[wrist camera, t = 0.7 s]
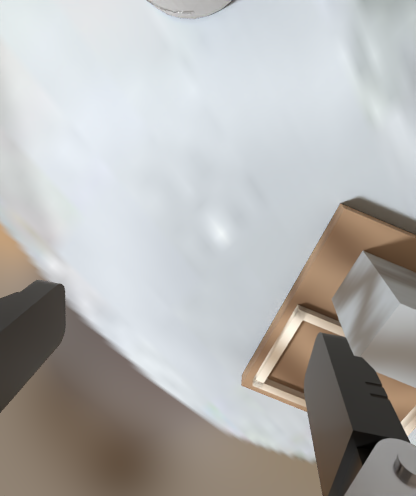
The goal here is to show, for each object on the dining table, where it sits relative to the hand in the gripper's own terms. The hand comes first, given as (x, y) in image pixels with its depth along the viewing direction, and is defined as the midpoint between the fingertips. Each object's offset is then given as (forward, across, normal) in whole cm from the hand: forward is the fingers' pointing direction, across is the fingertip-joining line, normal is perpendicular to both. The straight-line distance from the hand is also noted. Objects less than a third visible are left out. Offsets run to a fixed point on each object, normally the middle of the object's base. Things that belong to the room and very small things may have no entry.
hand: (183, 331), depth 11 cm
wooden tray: (+20, -15, +11) cm, 27 cm away
